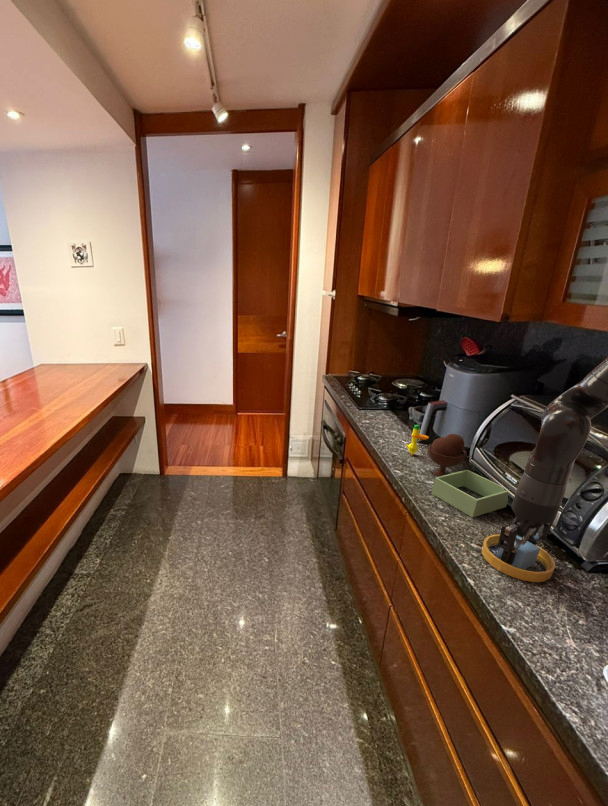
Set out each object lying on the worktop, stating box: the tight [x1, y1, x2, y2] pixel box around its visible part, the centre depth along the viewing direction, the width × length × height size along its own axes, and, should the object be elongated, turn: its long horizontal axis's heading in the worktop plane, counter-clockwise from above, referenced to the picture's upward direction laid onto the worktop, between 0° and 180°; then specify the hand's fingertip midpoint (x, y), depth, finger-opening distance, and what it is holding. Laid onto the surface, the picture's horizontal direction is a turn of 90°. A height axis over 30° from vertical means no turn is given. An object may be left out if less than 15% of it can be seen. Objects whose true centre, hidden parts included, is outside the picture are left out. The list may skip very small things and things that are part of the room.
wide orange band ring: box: [481, 533, 557, 583], centre depth 87 cm, size 13×13×3 cm
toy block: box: [496, 535, 540, 570], centre depth 86 cm, size 5×5×5 cm
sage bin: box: [431, 469, 509, 518], centre depth 110 cm, size 13×13×6 cm
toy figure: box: [405, 424, 429, 456], centre depth 136 cm, size 7×4×12 cm, turn 58°
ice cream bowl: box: [427, 433, 468, 477], centre depth 122 cm, size 11×11×15 cm
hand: (515, 558), depth 87 cm, fingers open, 6 cm apart
